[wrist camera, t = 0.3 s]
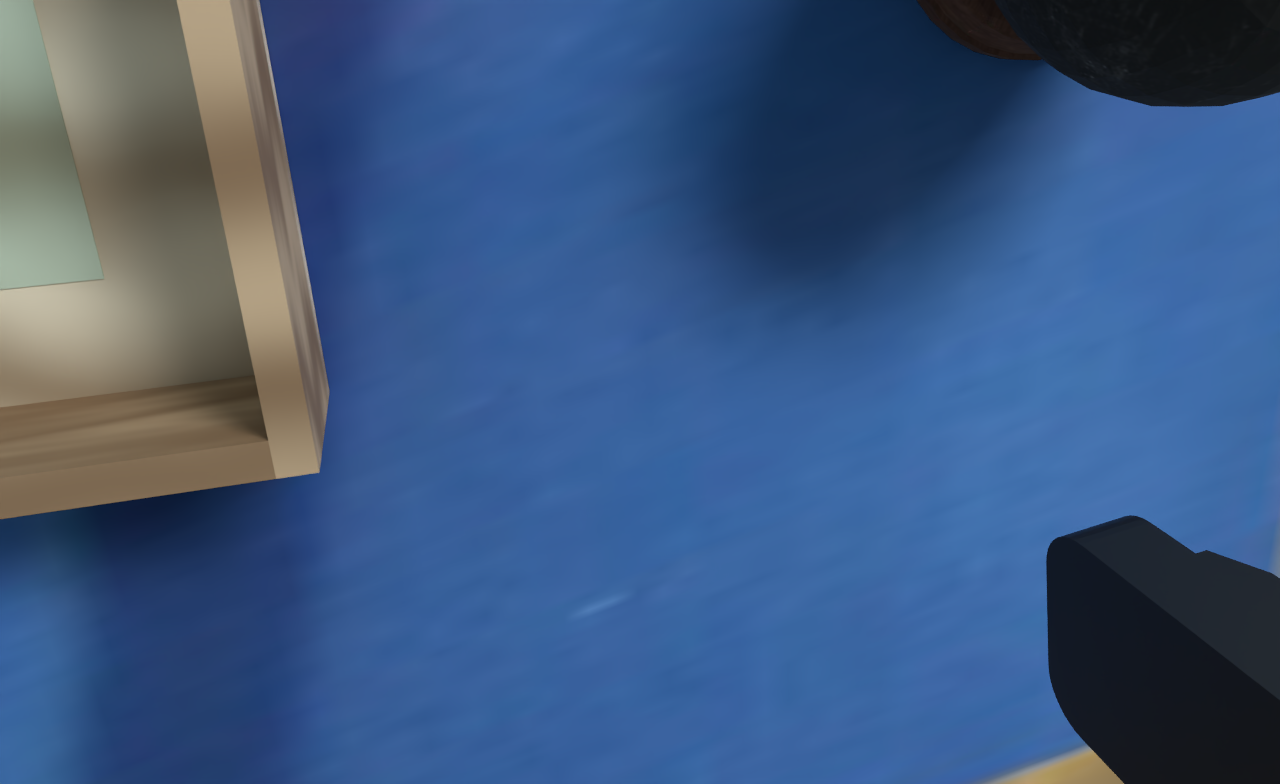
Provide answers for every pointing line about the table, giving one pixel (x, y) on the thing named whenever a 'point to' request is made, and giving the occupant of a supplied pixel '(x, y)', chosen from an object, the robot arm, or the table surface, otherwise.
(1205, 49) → the stone ball on stand
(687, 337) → the table surface
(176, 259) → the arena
